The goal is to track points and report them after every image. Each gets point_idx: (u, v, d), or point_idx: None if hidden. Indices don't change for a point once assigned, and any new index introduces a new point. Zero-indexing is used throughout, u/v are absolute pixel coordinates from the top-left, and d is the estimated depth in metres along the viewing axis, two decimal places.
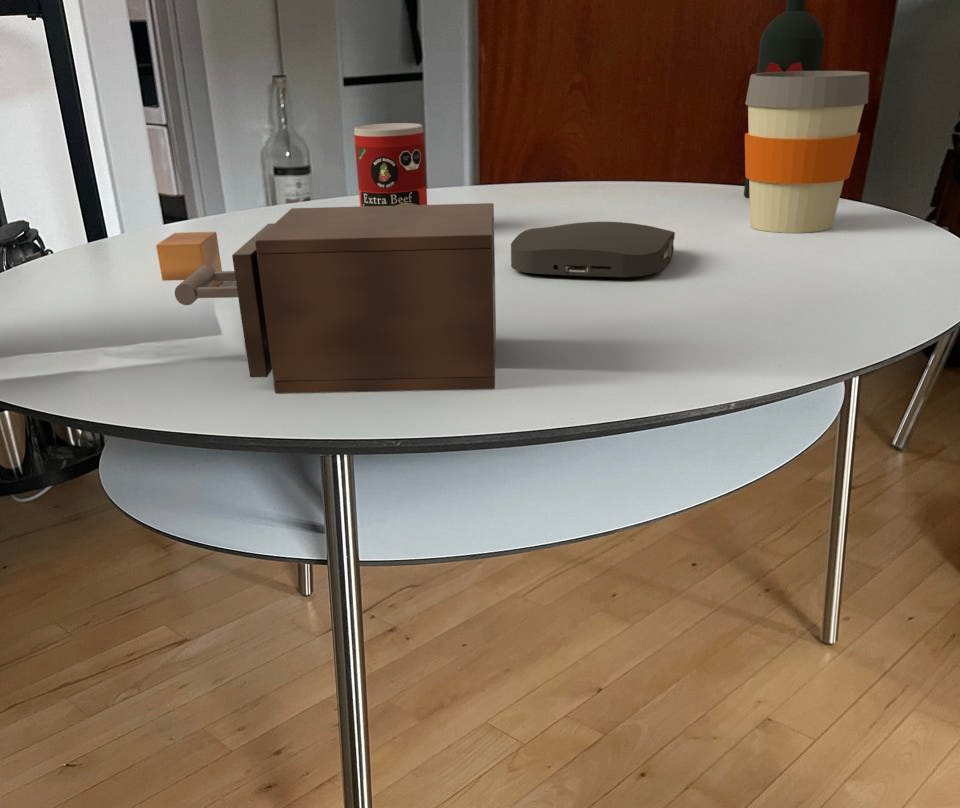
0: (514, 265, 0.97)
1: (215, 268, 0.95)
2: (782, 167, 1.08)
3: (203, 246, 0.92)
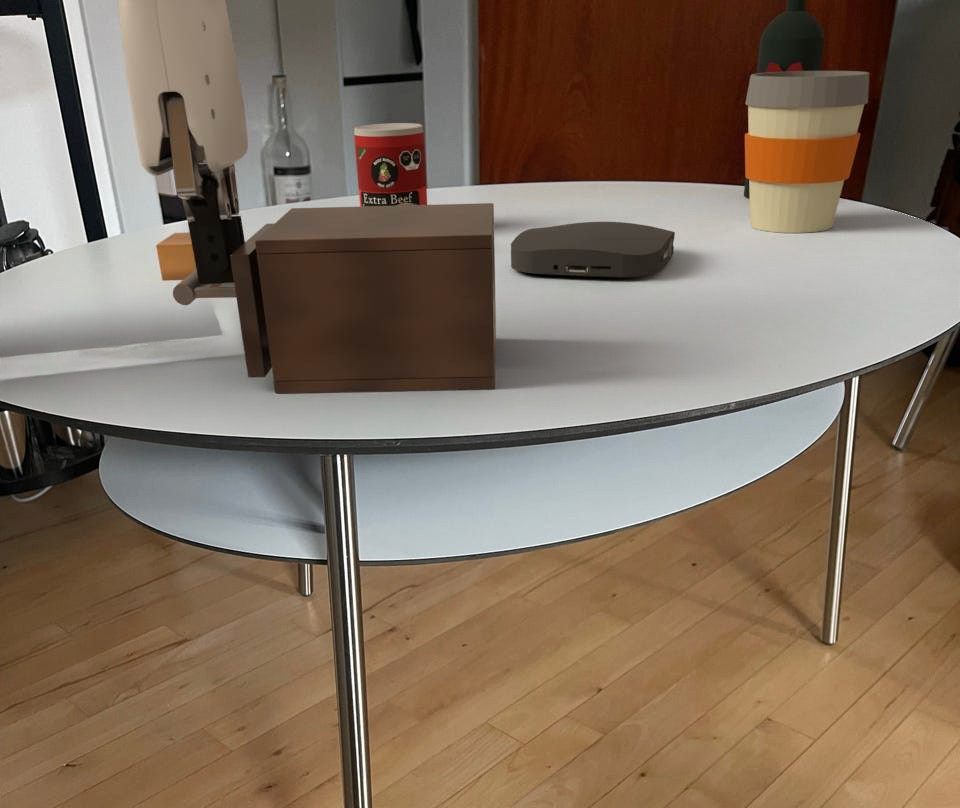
0: (514, 265, 0.97)
1: None
2: (782, 167, 1.08)
3: None
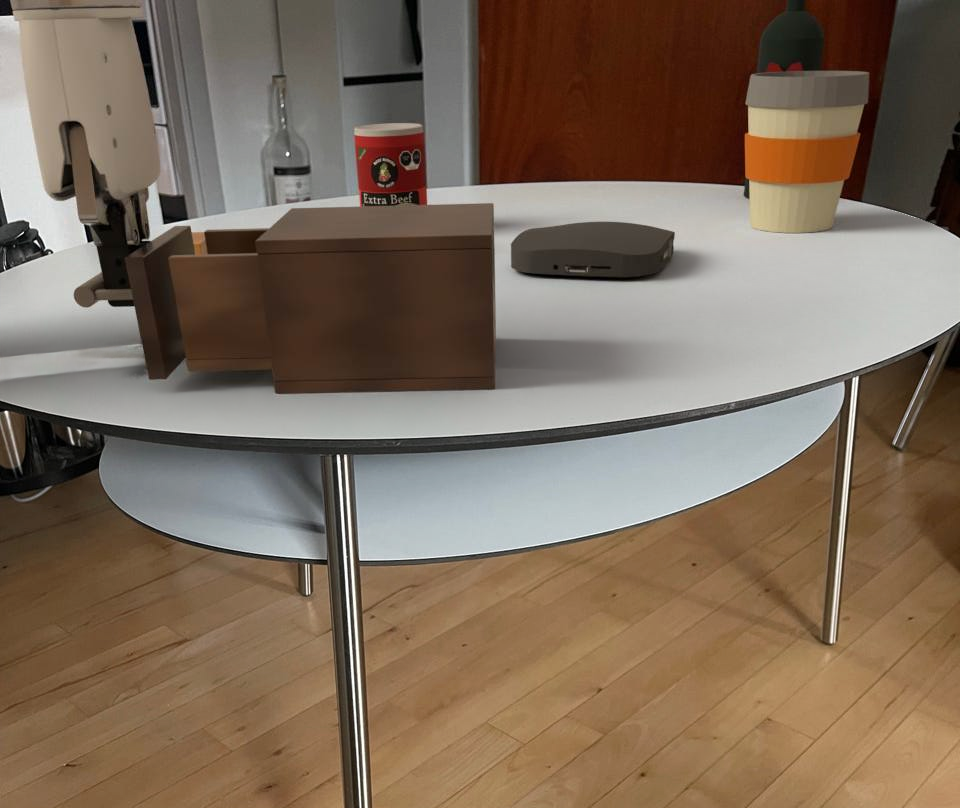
0: (514, 265, 0.97)
1: None
2: (782, 167, 1.08)
3: (203, 246, 0.92)
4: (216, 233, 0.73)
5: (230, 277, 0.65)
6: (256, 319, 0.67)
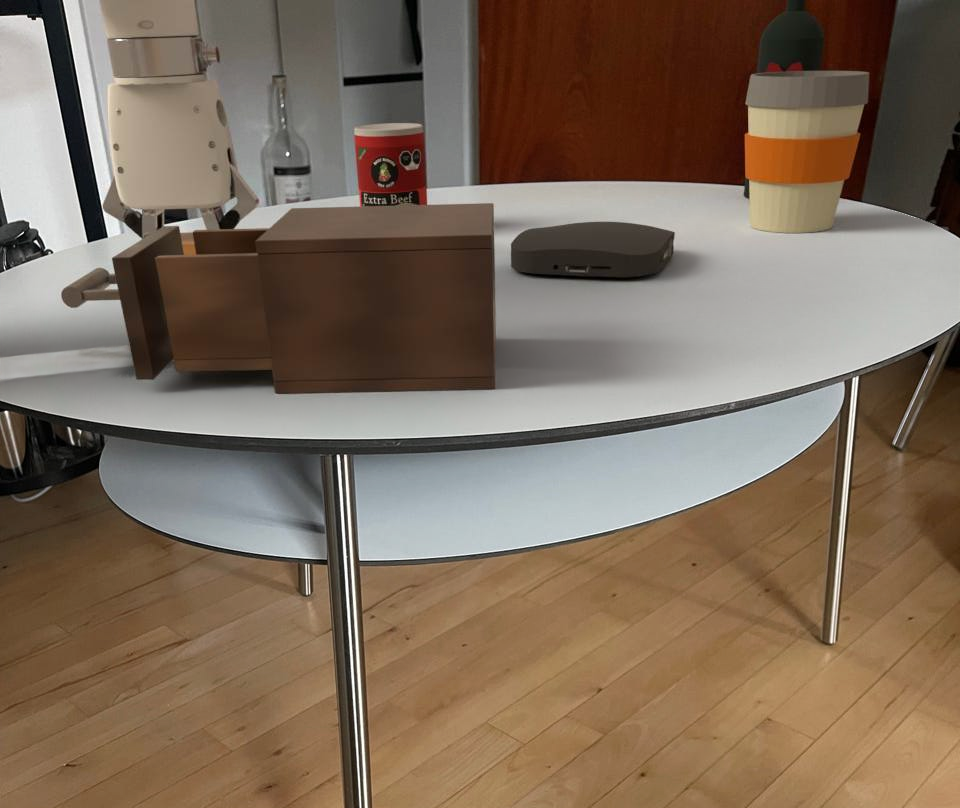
0: (514, 265, 0.97)
1: None
2: (782, 167, 1.08)
3: None
4: (204, 233, 0.73)
5: (217, 277, 0.65)
6: (243, 319, 0.67)
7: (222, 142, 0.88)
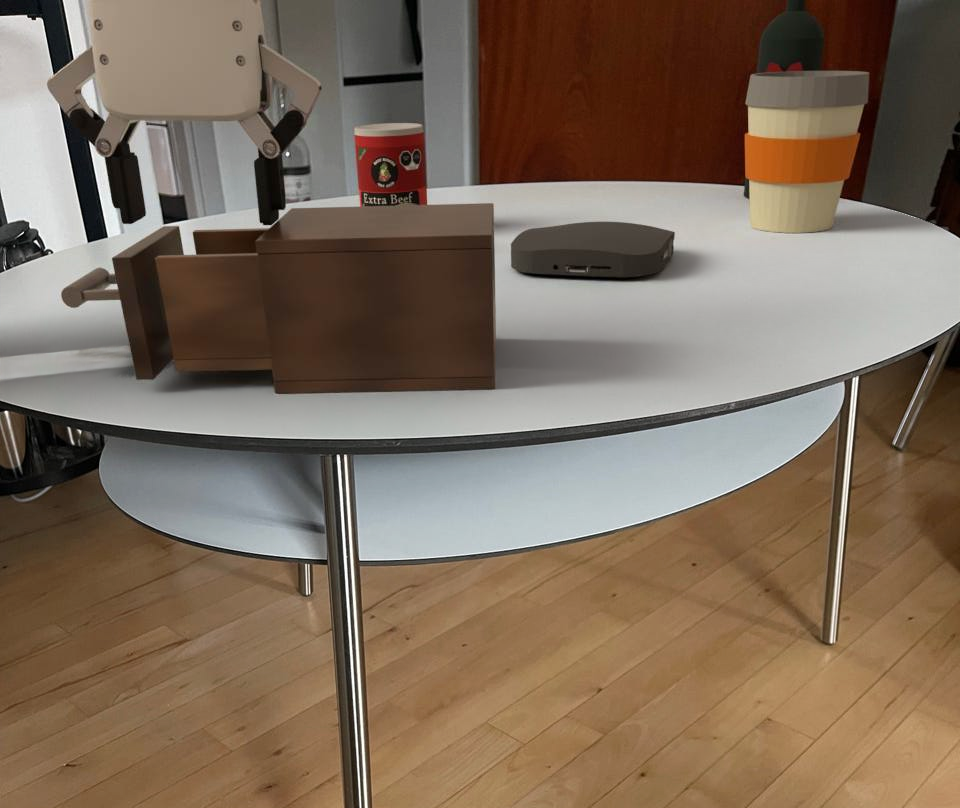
0: (514, 265, 0.97)
1: None
2: (782, 167, 1.08)
3: None
4: (204, 233, 0.73)
5: (217, 277, 0.65)
6: (243, 319, 0.67)
7: (252, 25, 0.61)
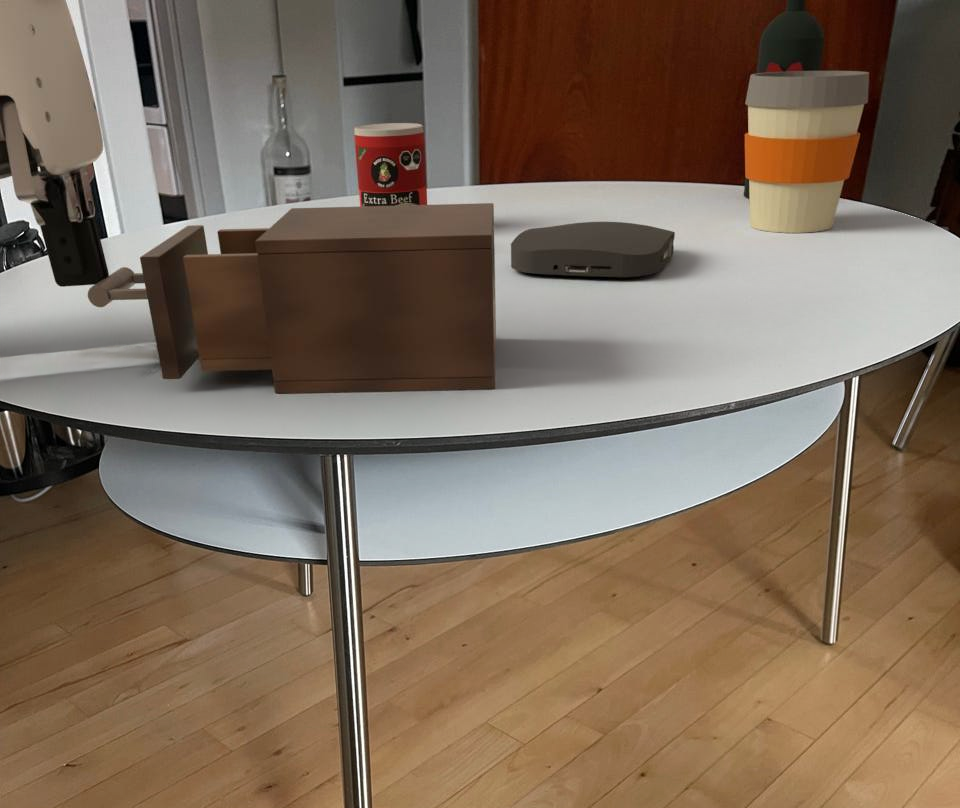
0: (514, 265, 0.97)
1: None
2: (782, 167, 1.08)
3: None
4: (229, 233, 0.73)
5: (245, 277, 0.65)
6: None
7: None
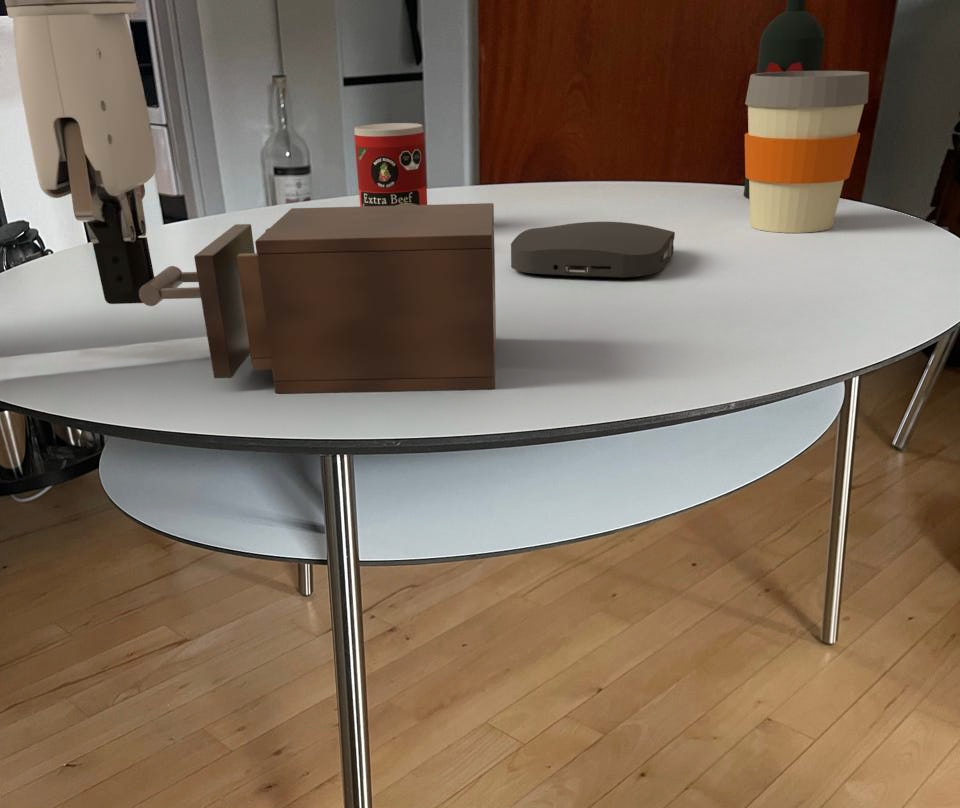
0: (514, 265, 0.97)
1: None
2: (782, 167, 1.08)
3: None
4: None
5: None
6: None
7: None
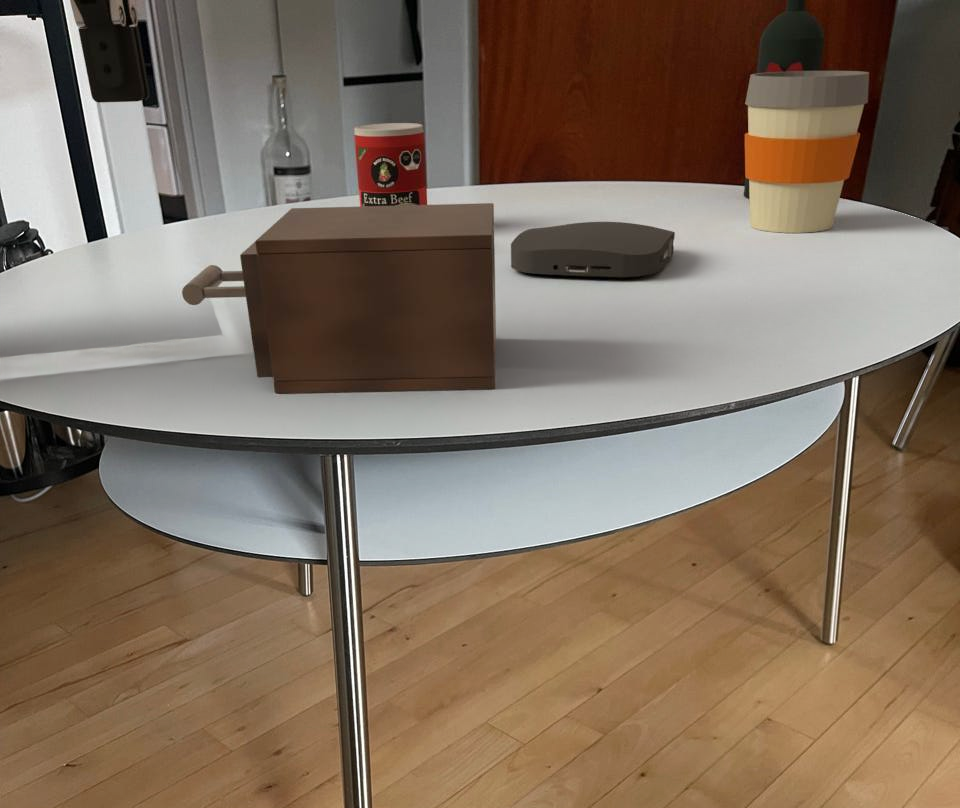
0: (514, 265, 0.97)
1: None
2: (782, 167, 1.08)
3: None
4: None
5: None
6: None
7: None
